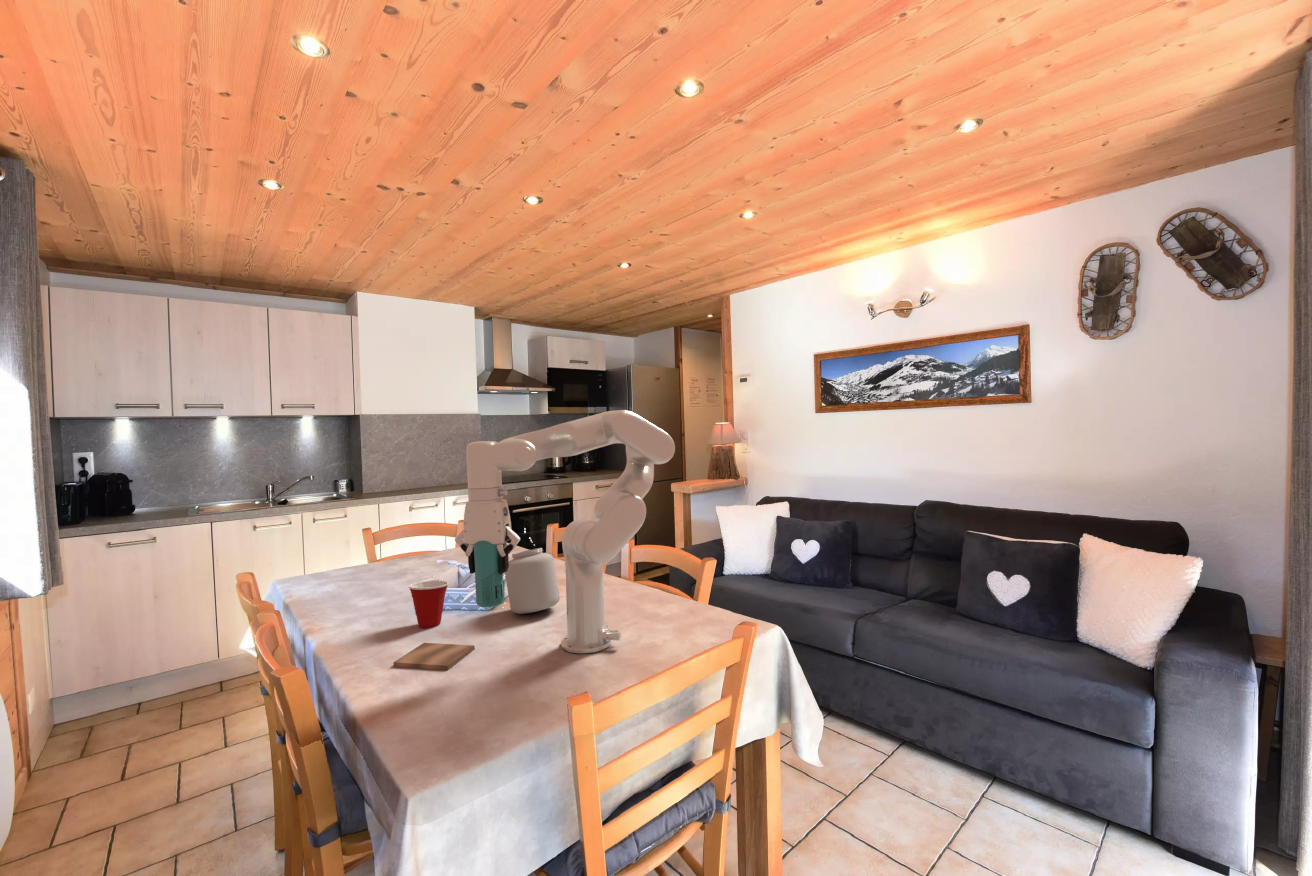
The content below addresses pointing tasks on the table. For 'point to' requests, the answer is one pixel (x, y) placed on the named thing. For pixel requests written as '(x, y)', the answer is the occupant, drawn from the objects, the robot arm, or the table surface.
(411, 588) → the plastic cup
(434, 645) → the walnut board
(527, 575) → the jar
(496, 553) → the beverage bottle
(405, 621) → the table surface
